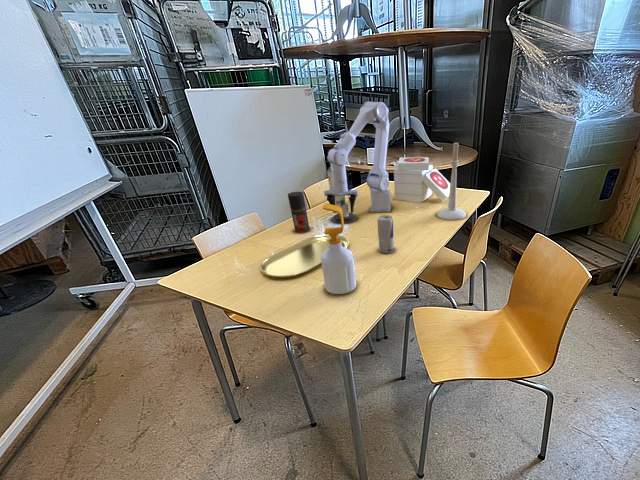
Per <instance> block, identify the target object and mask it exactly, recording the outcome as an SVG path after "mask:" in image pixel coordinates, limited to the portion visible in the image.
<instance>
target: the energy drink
mask: <svg viewBox="0 0 640 480" xmlns="http://www.w3.org/2000/svg"><path fill="white" fill-rule="evenodd" d="M376 222H377V237H378V239H377V240H378V250H379V252H380V253H383V254H390V253H393V252H394V250H395V240H394V237H395V236H394V235H395V234H394V218H393V216H392V215H387V214H384V215H379V216H378V217H377V219H376Z"/></svg>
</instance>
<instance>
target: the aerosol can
mask: <svg viewBox="0 0 640 480" xmlns="http://www.w3.org/2000/svg"><path fill="white" fill-rule="evenodd" d="M326 171H327V180H328V181H327V182H328V188H329V190H334V185H333V177H332V169H331V166H329V167H328V169H327V170H326ZM341 199H345V200H346V196H335V205H336V206H338V205H339V203H340V202H339V201H340V200H341Z"/></svg>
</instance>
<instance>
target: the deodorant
mask: <svg viewBox="0 0 640 480" xmlns="http://www.w3.org/2000/svg"><path fill="white" fill-rule="evenodd" d="M287 198H288V204H289V208H290V214H291V217H292V218H291V219H292V222H293V228H294V232H295V233H296V234H304V233H305V234H306V233H307V232H310V230H311V227H310V223H309V218H308V211H307V207H306V201H305V195H304V192H302V191H292V192H289V193H288V194H287Z"/></svg>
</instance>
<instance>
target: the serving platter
mask: <svg viewBox="0 0 640 480" xmlns="http://www.w3.org/2000/svg"><path fill="white" fill-rule="evenodd" d="M337 238H340V239H341V245H342V247H345V248H347V249H348V248H349V246H350V241H349V239H348V238H347V237H346V236H343V235H340V234H339V235H338V236H337ZM329 239H331V236H329V234H327V235H326V234H319V235H313V236H311V237H308V238H305V239H303V240H301V241H299V242H297V243H295V244H292V245H291V246H289V247H287V248H284V249H283V250H281V251H278V252H276V253H274V254H273V255H269V257H266V258H265V259H264V260H263V261H262V262H261V263H260V265H259V268H260V271H261V272H262V273H263V274H264V275H266V276H268V277H270V278H275V279H276V278H277V279H288V278H294V277H298V276H301V275H305V274H307V273H309V272H311V271H312V270H314V269H316V268H318V267H319V266H322V263H321V255H322V254H323V252H324V251H325V250H327V249H328V248H330V247H329Z"/></svg>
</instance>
